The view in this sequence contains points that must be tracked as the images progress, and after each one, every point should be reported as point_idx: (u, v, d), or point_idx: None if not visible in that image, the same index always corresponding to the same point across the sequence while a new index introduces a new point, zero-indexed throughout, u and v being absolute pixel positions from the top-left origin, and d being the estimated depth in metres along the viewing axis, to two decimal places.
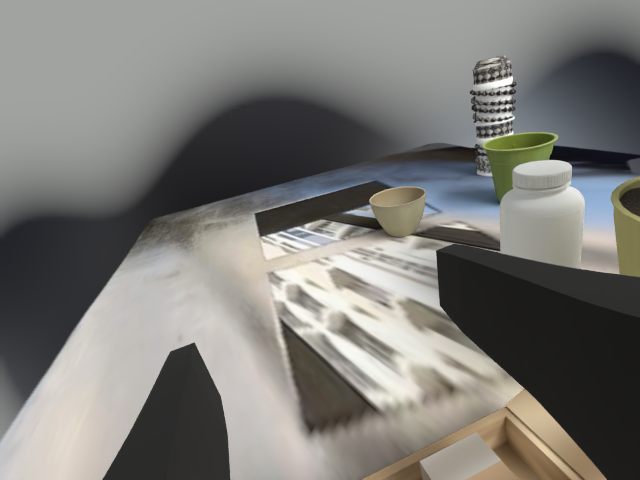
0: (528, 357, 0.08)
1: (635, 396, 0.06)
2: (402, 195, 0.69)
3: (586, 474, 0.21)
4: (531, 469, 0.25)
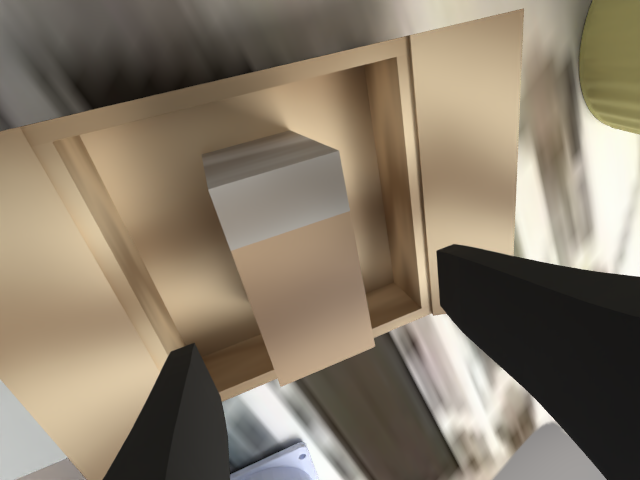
0: (527, 356, 0.08)
1: (635, 396, 0.06)
2: None
3: (428, 185, 0.16)
4: (370, 113, 0.17)
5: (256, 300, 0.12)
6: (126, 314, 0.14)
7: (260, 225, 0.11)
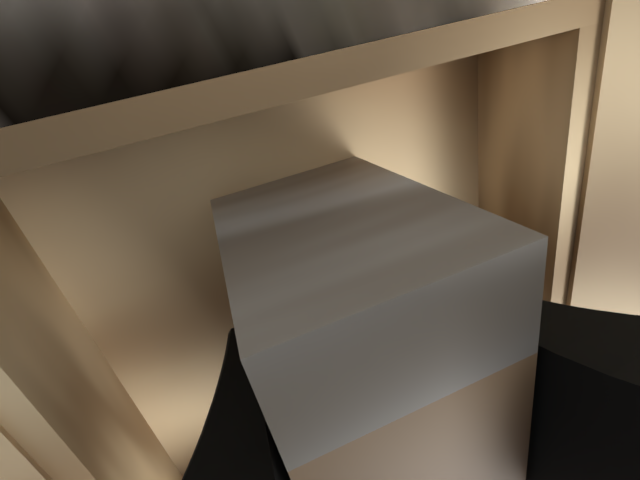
0: None
1: (563, 435, 0.06)
2: None
3: (589, 249, 0.09)
4: (478, 127, 0.11)
5: None
6: None
7: (358, 411, 0.05)
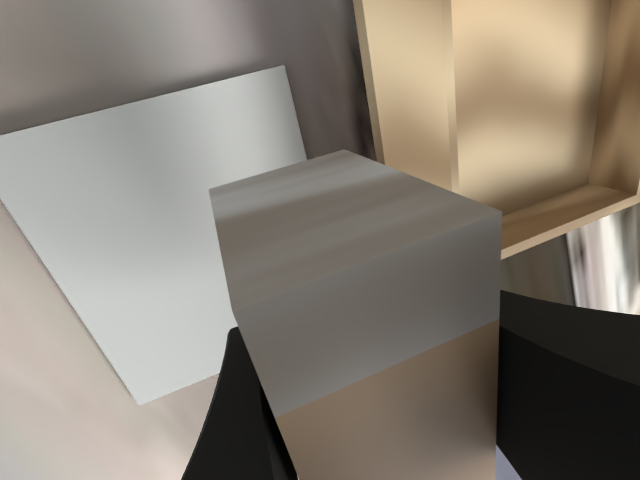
0: None
1: (563, 435, 0.06)
2: None
3: None
4: (611, 10, 0.19)
5: None
6: (450, 166, 0.16)
7: (336, 365, 0.05)
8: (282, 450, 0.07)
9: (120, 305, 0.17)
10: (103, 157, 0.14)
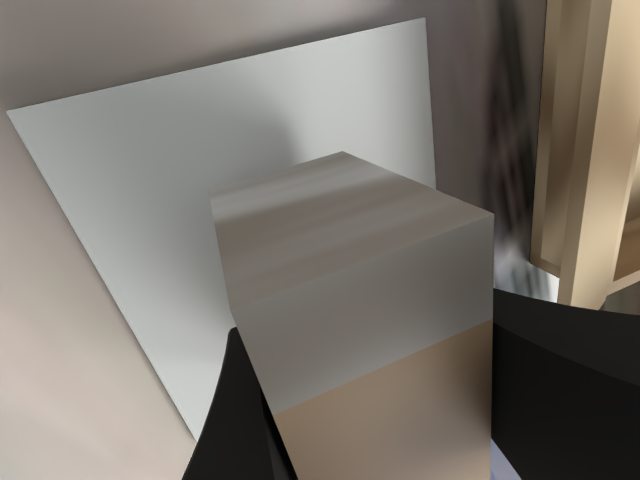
0: None
1: (563, 435, 0.06)
2: None
3: None
4: None
5: None
6: (632, 154, 0.12)
7: (332, 363, 0.05)
8: (283, 450, 0.07)
9: (192, 331, 0.13)
10: (189, 135, 0.10)
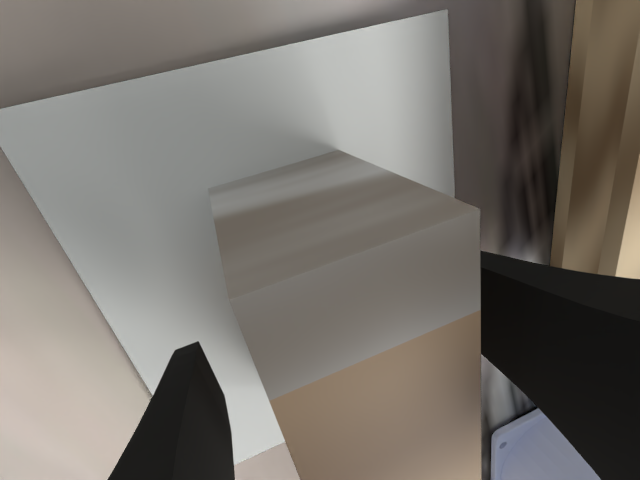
0: (524, 358, 0.08)
1: (630, 398, 0.06)
2: None
3: None
4: None
5: (310, 468, 0.07)
6: None
7: (326, 351, 0.06)
8: None
9: None
10: (188, 139, 0.09)
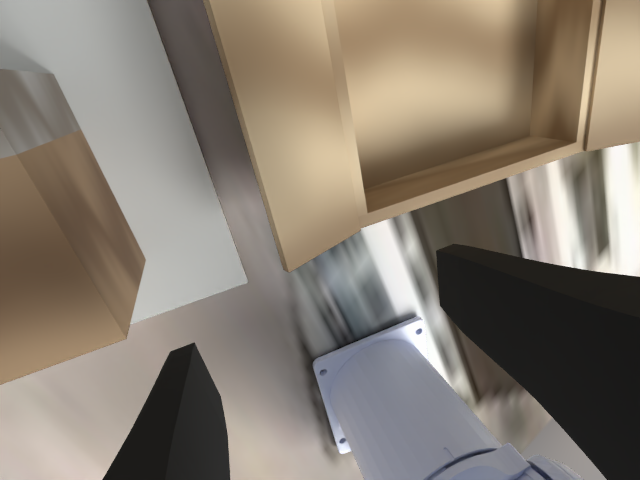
0: (528, 357, 0.08)
1: (635, 396, 0.06)
2: None
3: None
4: None
5: None
6: (335, 83, 0.13)
7: None
8: None
9: None
10: None
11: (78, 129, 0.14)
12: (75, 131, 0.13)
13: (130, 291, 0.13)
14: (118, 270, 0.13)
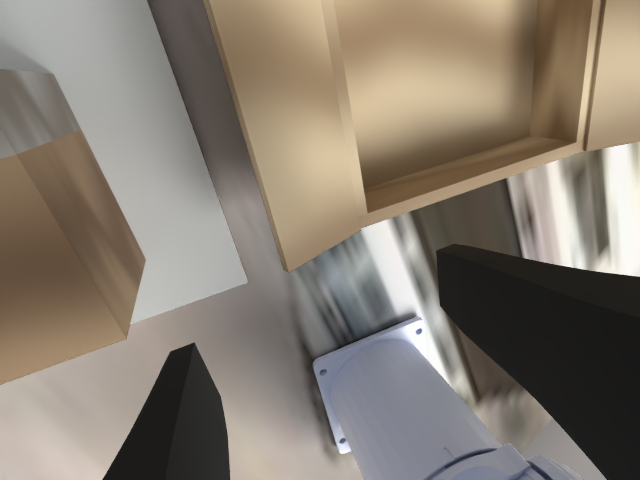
0: (528, 357, 0.08)
1: (635, 396, 0.06)
2: None
3: None
4: None
5: None
6: (335, 83, 0.13)
7: None
8: None
9: None
10: None
11: (78, 129, 0.14)
12: (75, 131, 0.13)
13: (130, 291, 0.13)
14: (118, 270, 0.13)
